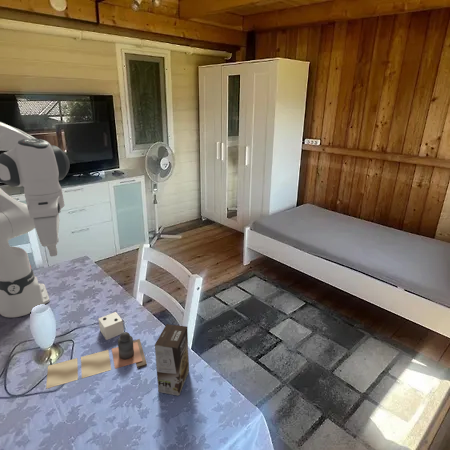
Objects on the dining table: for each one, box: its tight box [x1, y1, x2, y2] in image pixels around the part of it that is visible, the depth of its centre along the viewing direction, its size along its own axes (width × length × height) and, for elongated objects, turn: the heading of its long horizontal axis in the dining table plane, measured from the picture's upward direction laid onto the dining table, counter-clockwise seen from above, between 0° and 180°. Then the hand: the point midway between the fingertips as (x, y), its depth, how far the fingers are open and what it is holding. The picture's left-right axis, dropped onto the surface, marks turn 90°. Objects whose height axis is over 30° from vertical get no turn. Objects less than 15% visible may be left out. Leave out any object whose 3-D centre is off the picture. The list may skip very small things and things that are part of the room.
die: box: [98, 311, 125, 341], centre depth 110 cm, size 6×6×6 cm
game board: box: [45, 338, 148, 390], centre depth 98 cm, size 12×28×1 cm, turn 114°
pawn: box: [117, 331, 134, 360], centre depth 100 cm, size 4×4×8 cm
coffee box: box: [154, 323, 190, 397], centre depth 90 cm, size 9×6×16 cm
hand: (54, 248), depth 93 cm, fingers open, 8 cm apart
